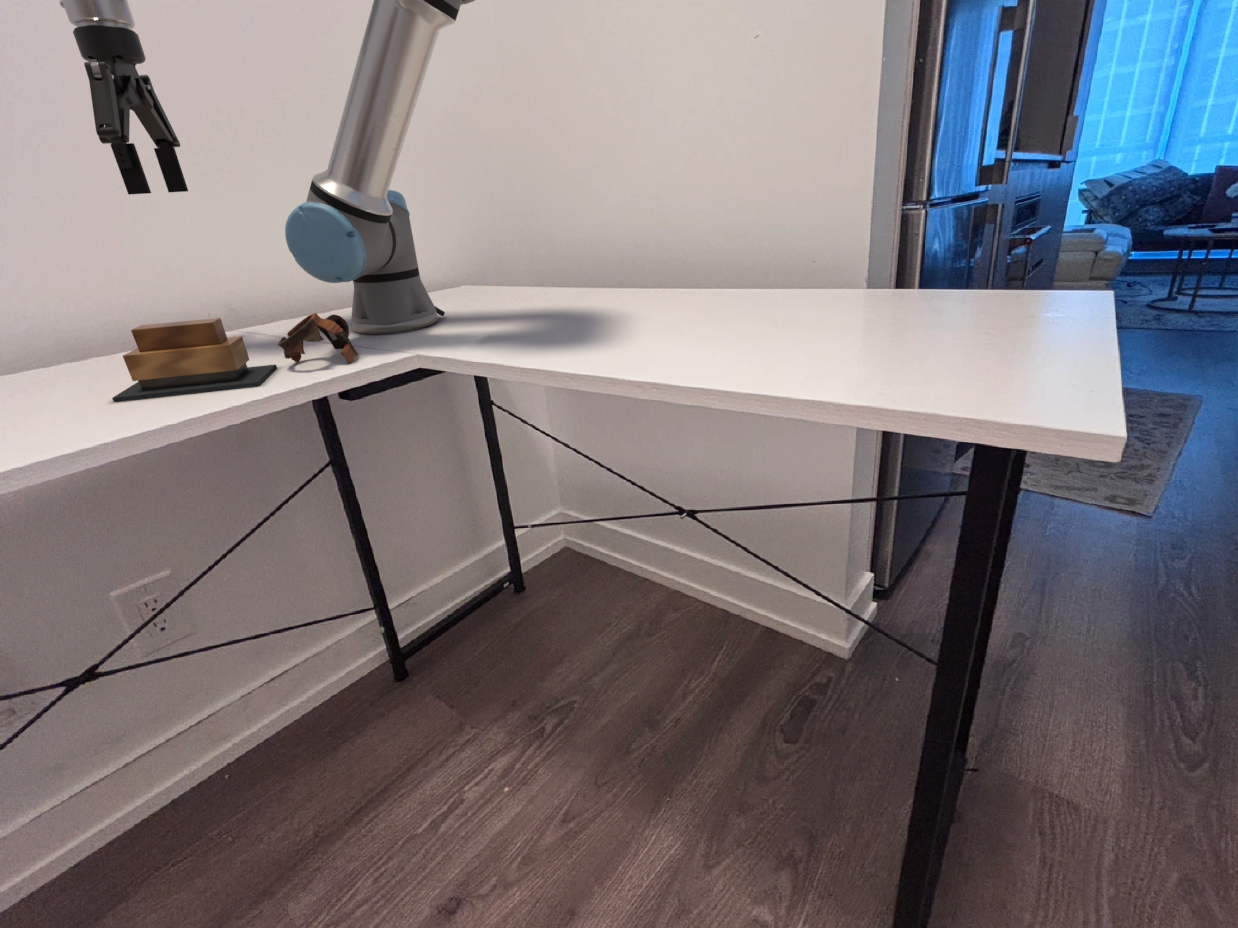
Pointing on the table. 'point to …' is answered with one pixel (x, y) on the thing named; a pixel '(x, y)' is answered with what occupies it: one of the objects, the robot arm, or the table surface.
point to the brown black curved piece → (318, 336)
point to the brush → (185, 354)
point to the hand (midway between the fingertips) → (160, 193)
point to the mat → (200, 385)
